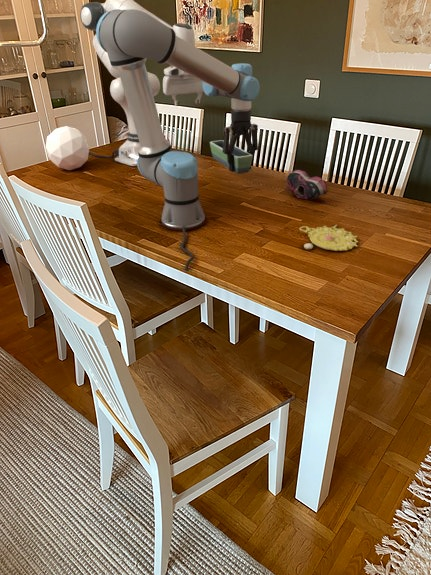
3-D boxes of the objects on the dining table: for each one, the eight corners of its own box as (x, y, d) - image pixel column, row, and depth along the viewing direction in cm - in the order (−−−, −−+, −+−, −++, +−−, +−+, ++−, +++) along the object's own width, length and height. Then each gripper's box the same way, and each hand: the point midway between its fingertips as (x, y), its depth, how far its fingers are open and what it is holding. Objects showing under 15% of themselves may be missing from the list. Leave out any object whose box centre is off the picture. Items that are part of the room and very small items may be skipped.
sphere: (76, 185, 212) (61, 159, 193) (47, 165, 217) (29, 138, 198) (102, 157, 217) (90, 130, 198) (73, 138, 221) (58, 110, 203)
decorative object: (343, 255, 128) (285, 234, 139) (342, 262, 130) (284, 241, 140) (372, 230, 142) (317, 213, 152) (371, 237, 143) (316, 219, 153)
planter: (252, 173, 177) (253, 154, 173) (236, 175, 174) (236, 157, 170) (224, 156, 198) (224, 139, 194) (209, 158, 196) (209, 141, 192)
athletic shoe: (296, 169, 182) (271, 176, 178) (328, 163, 162) (302, 171, 158) (301, 196, 185) (277, 204, 181) (334, 193, 165) (308, 202, 161)
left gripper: (205, 66, 189) (206, 101, 196) (160, 70, 182) (163, 105, 189) (211, 68, 184) (212, 103, 191) (164, 71, 177) (167, 108, 185)
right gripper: (259, 105, 173) (257, 164, 185) (212, 110, 166) (213, 170, 178) (269, 108, 167) (266, 169, 179) (221, 113, 160) (221, 175, 172)
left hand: (187, 104), depth 190 cm, fingers open, 8 cm apart
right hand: (240, 169), depth 178 cm, fingers closed on planter, 7 cm apart
